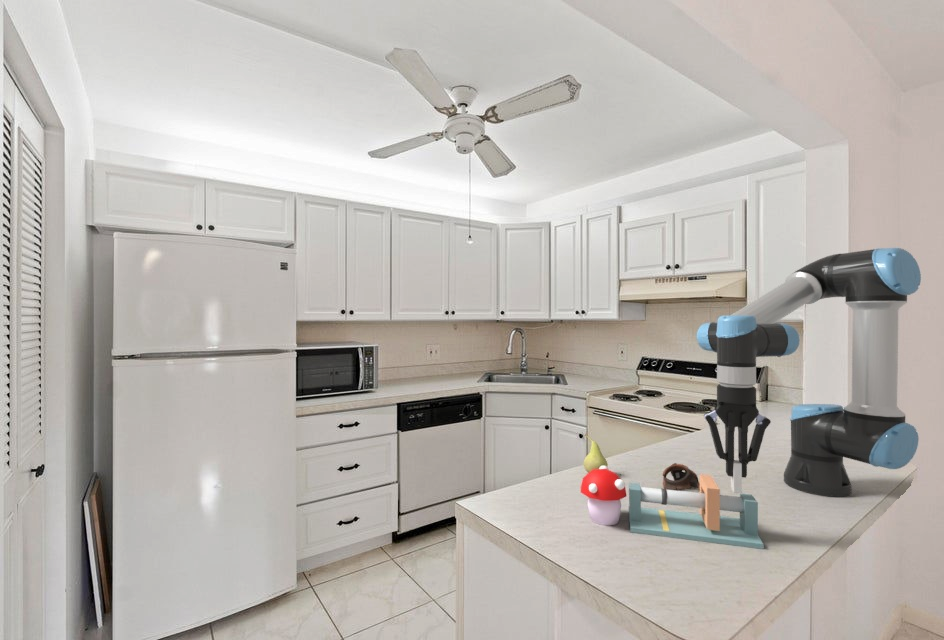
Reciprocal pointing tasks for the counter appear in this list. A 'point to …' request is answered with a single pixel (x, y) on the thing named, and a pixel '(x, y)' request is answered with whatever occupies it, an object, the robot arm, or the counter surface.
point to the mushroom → (603, 495)
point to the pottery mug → (680, 478)
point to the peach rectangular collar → (710, 502)
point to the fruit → (594, 458)
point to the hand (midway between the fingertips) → (736, 490)
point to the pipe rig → (693, 517)
